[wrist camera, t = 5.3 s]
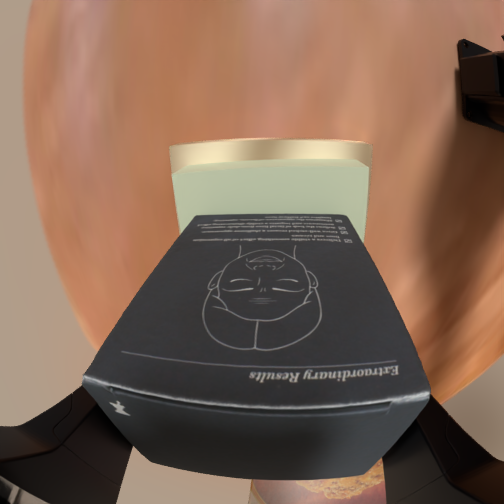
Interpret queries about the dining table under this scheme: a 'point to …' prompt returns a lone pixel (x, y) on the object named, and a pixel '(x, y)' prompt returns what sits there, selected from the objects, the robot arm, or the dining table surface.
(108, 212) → the dining table surface
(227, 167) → the upper slab
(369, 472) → the coffeecake box
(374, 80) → the dining table surface
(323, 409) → the box
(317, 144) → the lower slab
